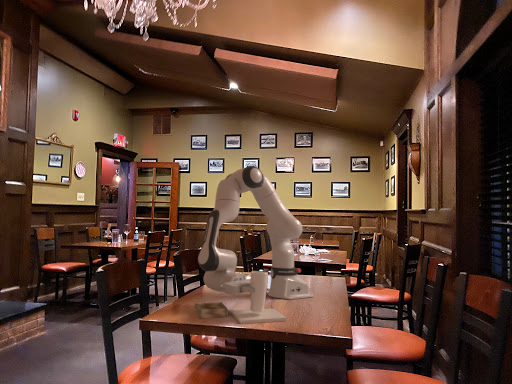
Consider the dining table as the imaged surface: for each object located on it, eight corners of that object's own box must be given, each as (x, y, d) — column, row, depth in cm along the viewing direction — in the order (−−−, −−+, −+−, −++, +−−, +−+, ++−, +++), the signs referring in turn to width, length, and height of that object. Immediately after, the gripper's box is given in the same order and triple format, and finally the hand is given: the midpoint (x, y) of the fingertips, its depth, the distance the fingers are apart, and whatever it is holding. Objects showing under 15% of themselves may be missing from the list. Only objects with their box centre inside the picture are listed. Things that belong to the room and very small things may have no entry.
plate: (273, 311, 155) (273, 308, 155) (286, 320, 141) (286, 317, 141) (231, 313, 149) (231, 310, 149) (240, 324, 136) (240, 320, 136)
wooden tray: (221, 309, 156) (221, 302, 156) (227, 316, 145) (227, 308, 145) (194, 311, 153) (194, 303, 153) (198, 318, 142) (198, 310, 142)
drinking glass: (248, 309, 148) (250, 270, 150) (264, 309, 149) (266, 271, 150) (249, 313, 142) (251, 273, 143) (266, 313, 142) (268, 273, 143)
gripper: (216, 279, 147) (242, 284, 138) (250, 273, 162) (276, 277, 153) (215, 295, 146) (241, 301, 137) (250, 288, 162) (275, 293, 153)
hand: (260, 289), depth 145 cm, fingers closed on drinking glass, 6 cm apart
